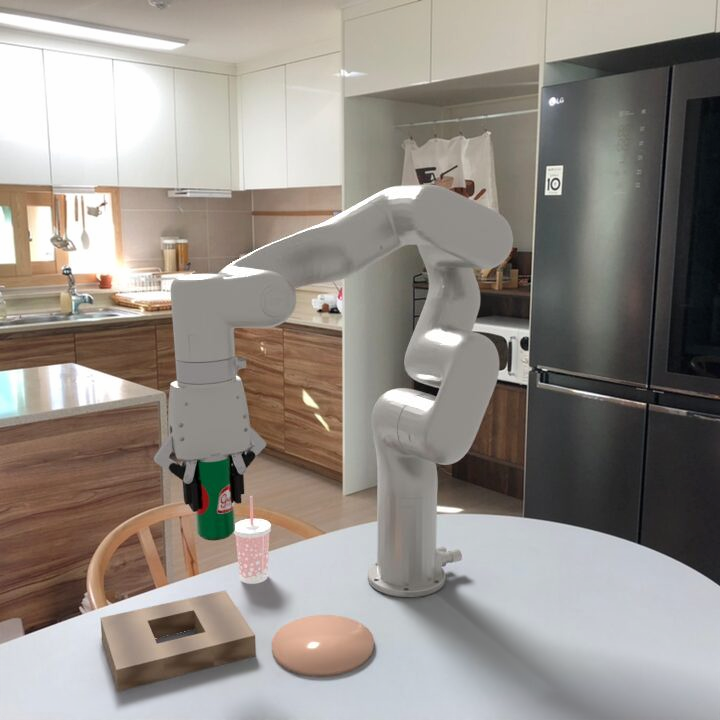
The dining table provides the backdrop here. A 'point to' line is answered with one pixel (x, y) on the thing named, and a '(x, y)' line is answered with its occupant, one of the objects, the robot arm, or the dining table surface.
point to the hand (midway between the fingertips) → (214, 502)
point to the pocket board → (180, 656)
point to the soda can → (215, 497)
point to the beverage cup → (252, 548)
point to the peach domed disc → (322, 645)
